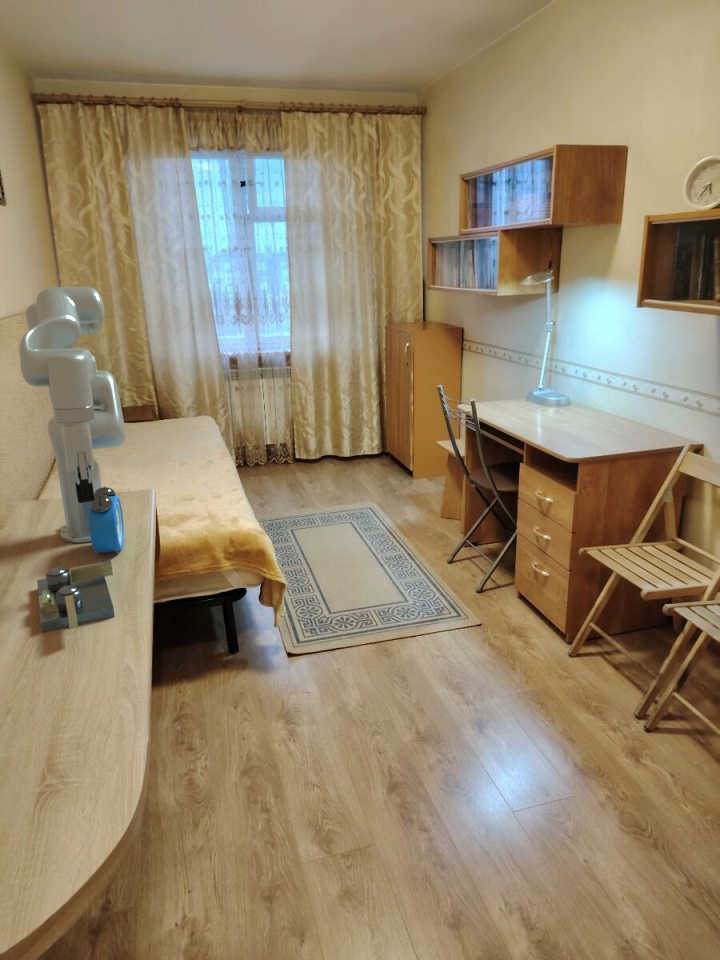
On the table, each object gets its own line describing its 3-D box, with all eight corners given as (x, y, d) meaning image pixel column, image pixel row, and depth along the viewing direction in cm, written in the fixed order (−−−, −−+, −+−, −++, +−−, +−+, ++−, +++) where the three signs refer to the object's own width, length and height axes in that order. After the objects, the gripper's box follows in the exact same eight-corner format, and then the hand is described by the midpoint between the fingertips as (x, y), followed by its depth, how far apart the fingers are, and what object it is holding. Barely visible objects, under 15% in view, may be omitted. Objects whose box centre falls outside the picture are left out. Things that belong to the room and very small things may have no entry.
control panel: (38, 588, 143) (35, 569, 141) (103, 576, 148) (100, 558, 147) (41, 632, 126) (38, 611, 124) (114, 616, 131) (112, 596, 130)
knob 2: (57, 603, 132) (54, 586, 131) (81, 598, 134) (79, 582, 132) (61, 633, 121) (58, 615, 120) (87, 627, 123) (84, 610, 122)
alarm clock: (120, 559, 157) (113, 499, 152) (92, 562, 155) (84, 501, 151) (125, 538, 169) (119, 482, 164) (99, 541, 168) (92, 484, 163)
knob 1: (48, 592, 136) (45, 576, 135) (47, 584, 140) (44, 568, 139) (114, 580, 141) (112, 564, 140) (111, 572, 145) (109, 557, 144)
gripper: (52, 410, 140) (64, 493, 145) (56, 423, 127) (69, 514, 133) (90, 406, 143) (101, 488, 149) (98, 419, 130) (109, 508, 136)
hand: (86, 500), depth 141 cm, fingers closed
